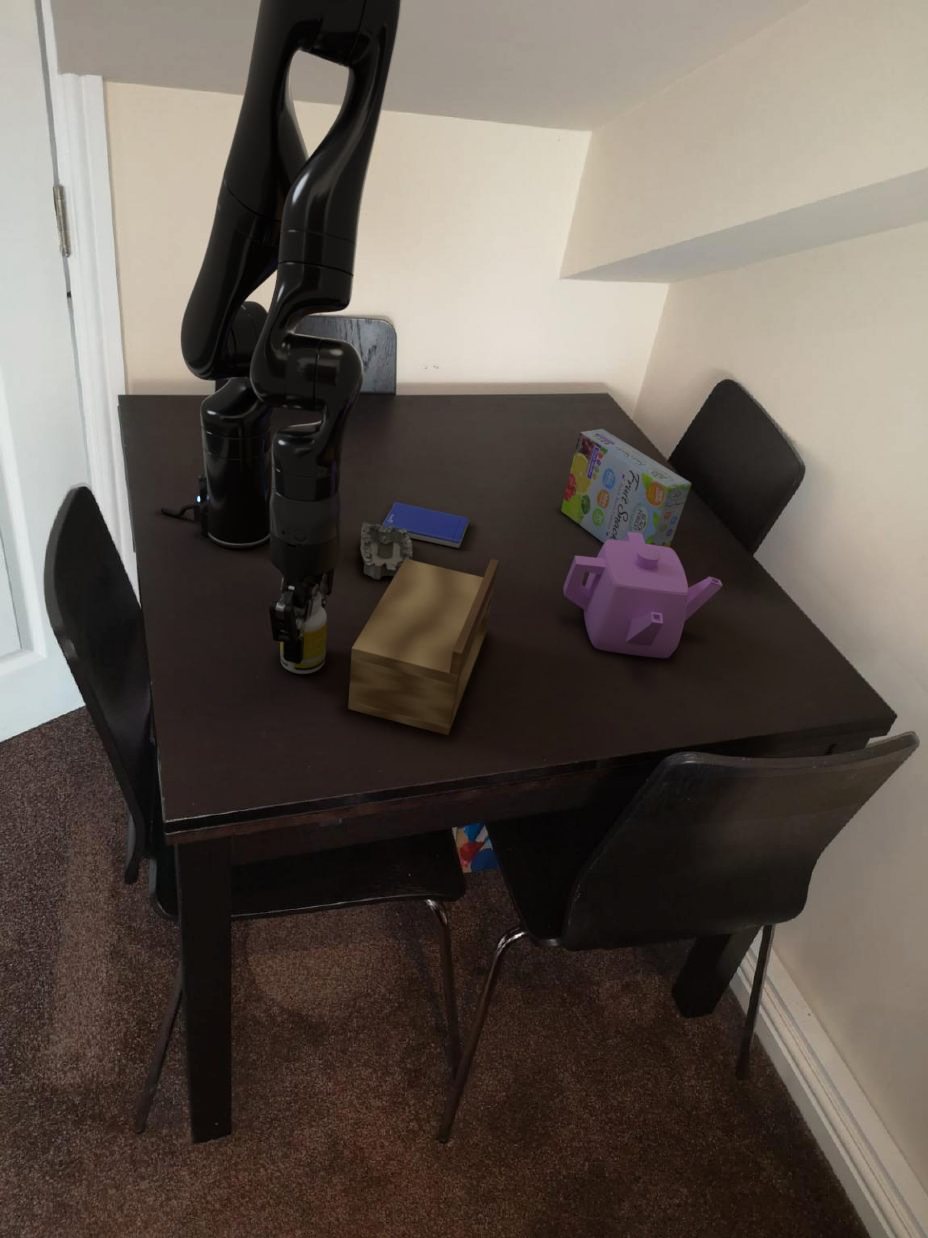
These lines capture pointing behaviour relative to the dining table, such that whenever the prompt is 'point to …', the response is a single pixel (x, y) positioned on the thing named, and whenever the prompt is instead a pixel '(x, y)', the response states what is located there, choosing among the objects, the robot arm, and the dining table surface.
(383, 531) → the egg carton
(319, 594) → the supplement bottle
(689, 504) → the dining table surface
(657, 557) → the teakettle
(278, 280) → the robot arm
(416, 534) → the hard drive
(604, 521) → the snack box
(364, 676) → the lipped wooden block
